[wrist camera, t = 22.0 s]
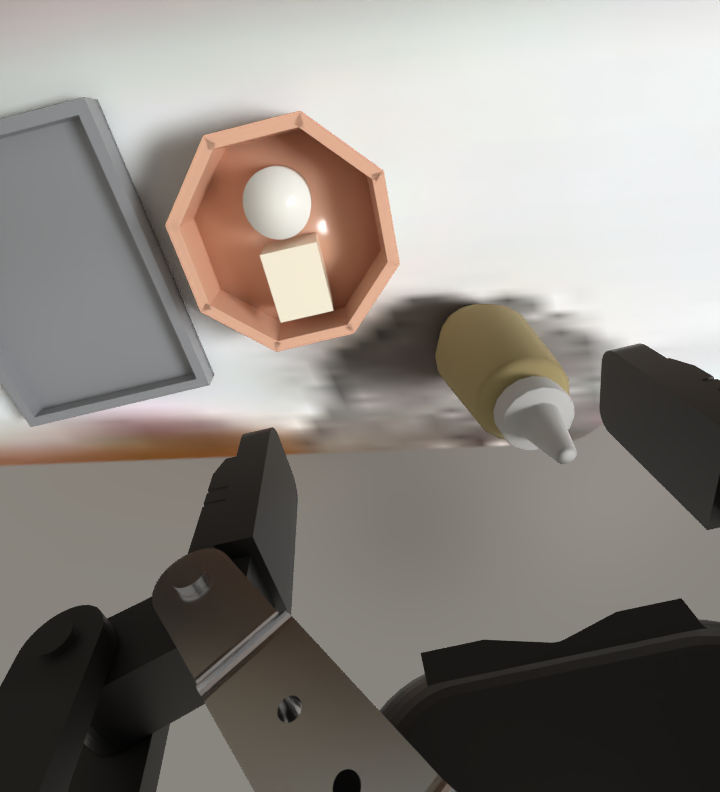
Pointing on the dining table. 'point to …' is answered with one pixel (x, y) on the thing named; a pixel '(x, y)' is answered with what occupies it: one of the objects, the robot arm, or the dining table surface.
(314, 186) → the bowl
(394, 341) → the dining table surface
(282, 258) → the sandy stone
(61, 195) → the parts tray
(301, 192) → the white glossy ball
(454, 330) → the squeeze bottle
